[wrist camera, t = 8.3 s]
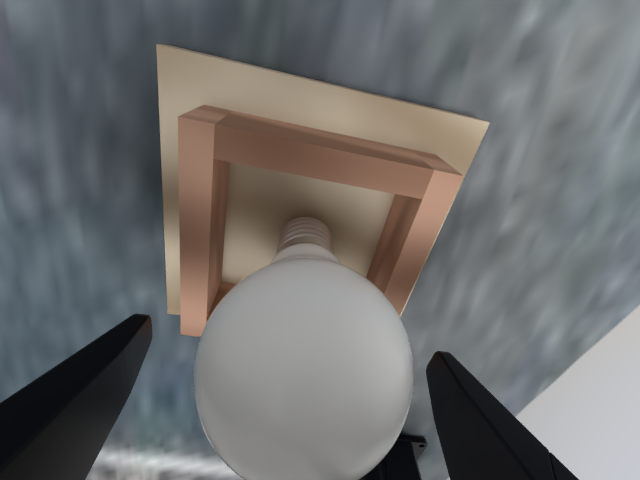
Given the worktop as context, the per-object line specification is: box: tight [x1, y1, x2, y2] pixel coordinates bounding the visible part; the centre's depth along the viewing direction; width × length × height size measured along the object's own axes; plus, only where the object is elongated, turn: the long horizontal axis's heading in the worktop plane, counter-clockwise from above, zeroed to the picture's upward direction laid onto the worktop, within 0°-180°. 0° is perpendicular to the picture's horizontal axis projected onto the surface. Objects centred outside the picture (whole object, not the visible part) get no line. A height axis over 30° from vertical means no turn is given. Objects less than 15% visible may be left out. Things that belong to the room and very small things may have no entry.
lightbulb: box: [193, 217, 414, 480], centre depth 12 cm, size 6×6×11 cm
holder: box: [156, 44, 490, 337], centre depth 15 cm, size 14×14×4 cm
